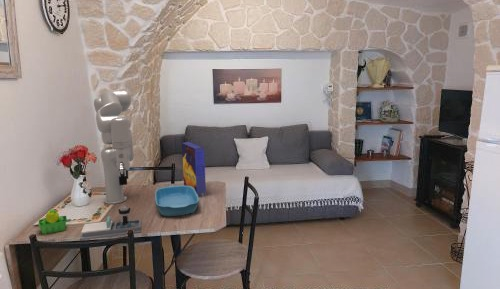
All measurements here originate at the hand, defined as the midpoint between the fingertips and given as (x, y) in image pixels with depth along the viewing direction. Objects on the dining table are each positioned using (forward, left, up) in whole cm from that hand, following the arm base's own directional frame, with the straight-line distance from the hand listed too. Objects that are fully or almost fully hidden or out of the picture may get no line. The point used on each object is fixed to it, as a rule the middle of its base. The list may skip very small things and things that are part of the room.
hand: (124, 181), depth 160 cm
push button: (0, 0, -22) cm, 22 cm away
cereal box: (-45, +37, -23) cm, 63 cm away
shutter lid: (0, -13, -21) cm, 24 cm away
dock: (0, -7, -23) cm, 24 cm away
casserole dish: (-23, +25, -23) cm, 41 cm away
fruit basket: (-8, -33, -23) cm, 41 cm away
